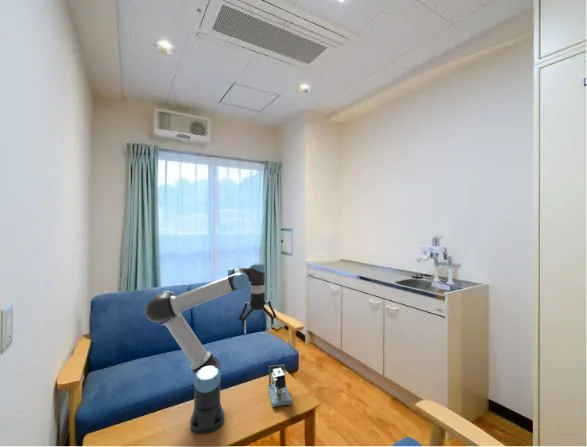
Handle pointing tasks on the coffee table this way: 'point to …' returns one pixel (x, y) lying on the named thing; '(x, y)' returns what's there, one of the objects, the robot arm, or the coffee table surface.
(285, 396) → the dolly
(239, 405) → the coffee table surface
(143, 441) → the coffee table surface
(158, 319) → the robot arm
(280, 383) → the pneumatic valve
